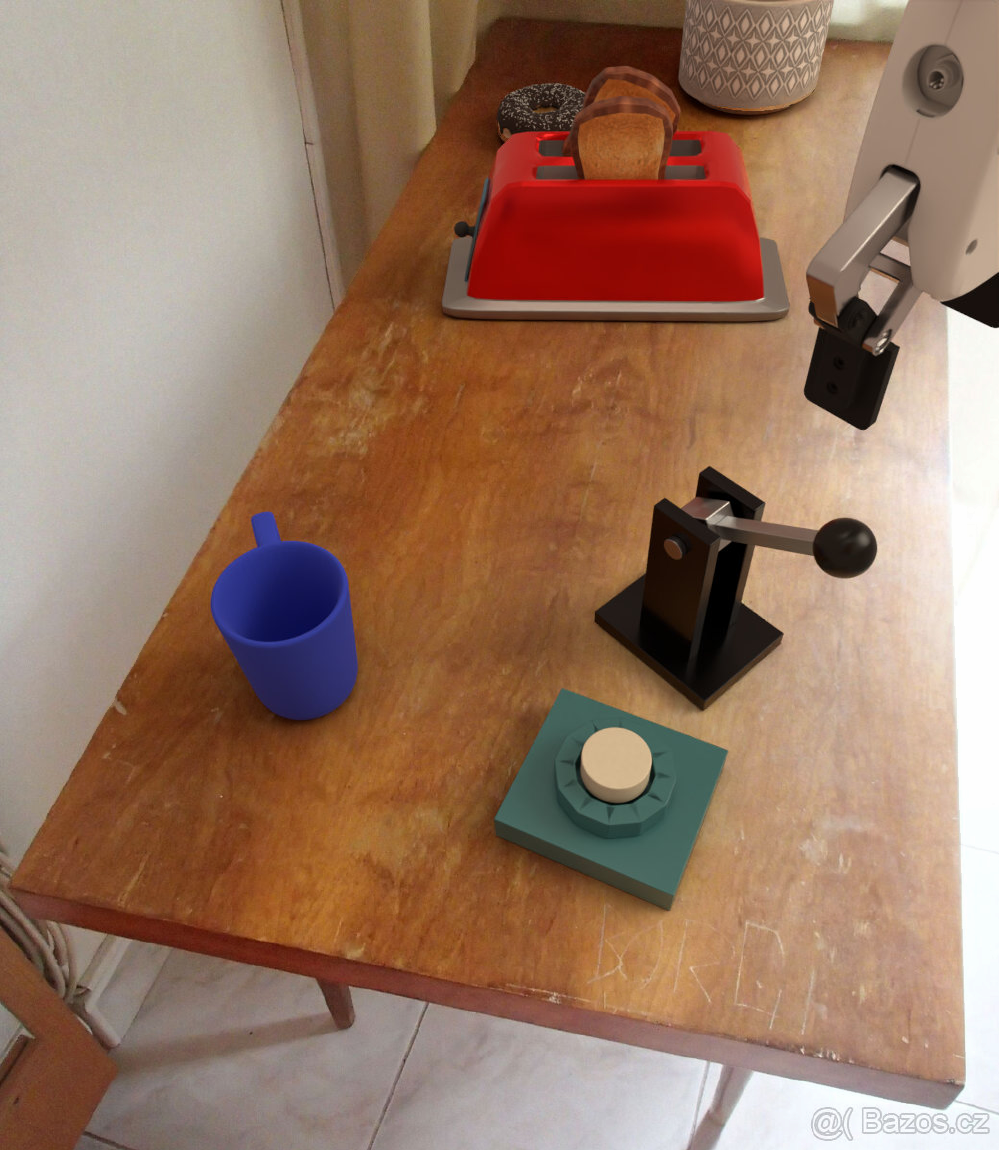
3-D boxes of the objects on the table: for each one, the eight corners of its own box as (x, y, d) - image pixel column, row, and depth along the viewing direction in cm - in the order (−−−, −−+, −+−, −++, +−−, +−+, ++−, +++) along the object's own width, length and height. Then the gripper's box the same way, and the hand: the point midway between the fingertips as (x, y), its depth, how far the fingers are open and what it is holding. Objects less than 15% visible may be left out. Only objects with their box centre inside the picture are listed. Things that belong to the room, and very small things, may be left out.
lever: (895, 562, 52) (883, 509, 50) (858, 595, 50) (845, 542, 49) (713, 530, 62) (699, 486, 61) (679, 557, 61) (664, 512, 60)
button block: (723, 767, 62) (733, 734, 58) (670, 911, 56) (677, 882, 53) (561, 705, 65) (562, 671, 62) (495, 835, 59) (492, 804, 56)
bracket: (780, 643, 67) (821, 514, 58) (702, 711, 64) (731, 587, 54) (671, 562, 72) (691, 431, 63) (593, 621, 69) (601, 493, 59)
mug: (343, 582, 72) (319, 484, 65) (383, 715, 65) (361, 623, 57) (231, 612, 71) (193, 516, 63) (259, 751, 63) (219, 662, 56)
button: (659, 757, 58) (661, 741, 57) (634, 814, 56) (637, 799, 54) (595, 732, 59) (597, 717, 58) (569, 787, 57) (570, 772, 56)
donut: (477, 132, 116) (475, 98, 113) (556, 102, 120) (556, 68, 117) (536, 168, 110) (535, 133, 107) (616, 135, 114) (618, 100, 111)
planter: (816, 65, 124) (839, -49, 114) (812, 127, 114) (837, 7, 104) (685, 57, 127) (696, -55, 117) (669, 116, 117) (680, -1, 107)
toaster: (440, 321, 92) (421, 121, 78) (453, 245, 100) (438, 52, 86) (789, 324, 90) (835, 119, 76) (773, 246, 98) (812, 48, 84)
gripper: (1022, 16, 24) (858, 504, 37) (1317, -145, 31) (1092, 314, 44) (778, -55, 28) (707, 410, 41) (1089, -184, 35) (944, 249, 48)
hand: (907, 360), depth 43 cm, fingers open, 9 cm apart
